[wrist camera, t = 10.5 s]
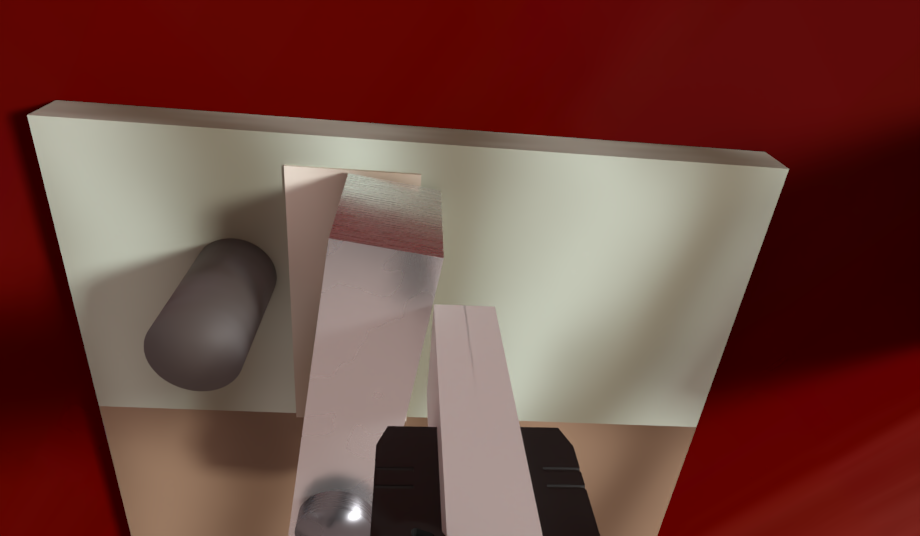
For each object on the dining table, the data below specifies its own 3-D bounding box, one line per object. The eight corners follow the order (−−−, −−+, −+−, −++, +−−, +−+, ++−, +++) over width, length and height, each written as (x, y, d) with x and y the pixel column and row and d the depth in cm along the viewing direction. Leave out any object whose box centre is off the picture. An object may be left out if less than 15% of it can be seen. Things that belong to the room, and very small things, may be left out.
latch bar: (382, 450, 23) (372, 570, 19) (309, 441, 23) (283, 561, 18) (440, 187, 18) (444, 271, 14) (349, 170, 18) (325, 250, 13)
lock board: (157, 557, 28) (101, 692, 23) (56, 100, 18) (-80, 169, 13) (626, 565, 29) (664, 692, 25) (765, 151, 20) (873, 229, 15)
